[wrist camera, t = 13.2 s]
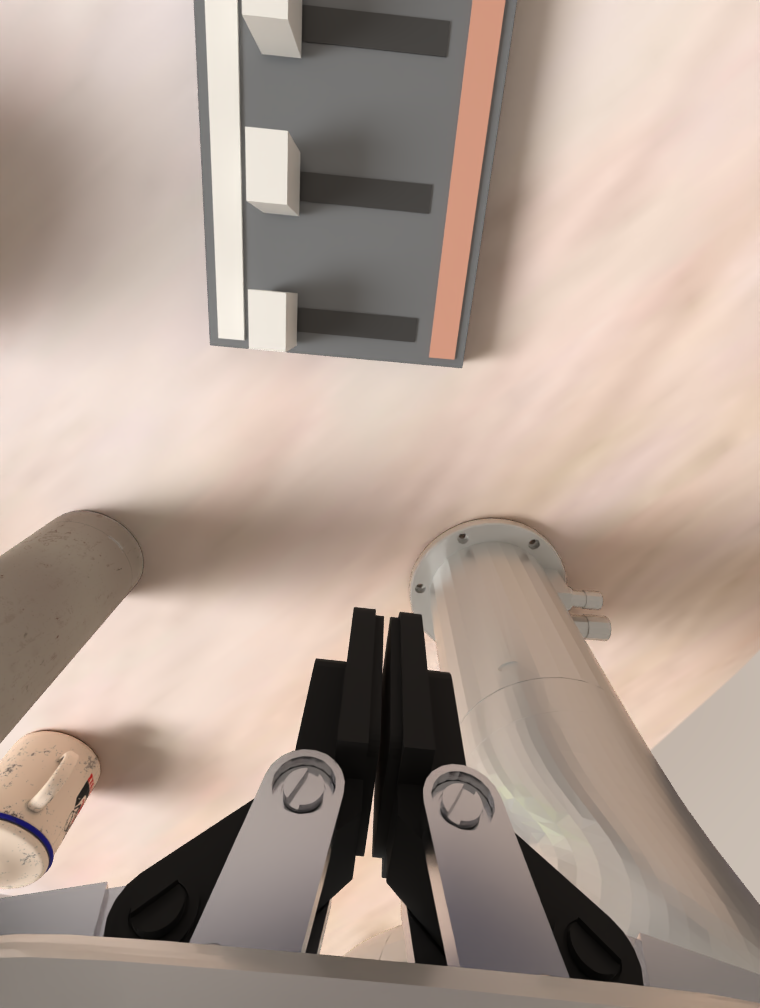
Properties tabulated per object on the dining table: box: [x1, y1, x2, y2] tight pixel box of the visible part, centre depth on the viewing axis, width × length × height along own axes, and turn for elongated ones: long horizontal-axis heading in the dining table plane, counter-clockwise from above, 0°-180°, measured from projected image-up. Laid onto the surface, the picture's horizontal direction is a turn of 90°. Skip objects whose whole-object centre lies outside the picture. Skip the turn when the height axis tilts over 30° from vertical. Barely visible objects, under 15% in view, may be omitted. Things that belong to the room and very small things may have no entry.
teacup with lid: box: [0, 731, 100, 889], centre depth 43 cm, size 12×9×12 cm
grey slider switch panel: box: [194, 0, 517, 368], centre depth 25 cm, size 16×25×7 cm, turn 175°
